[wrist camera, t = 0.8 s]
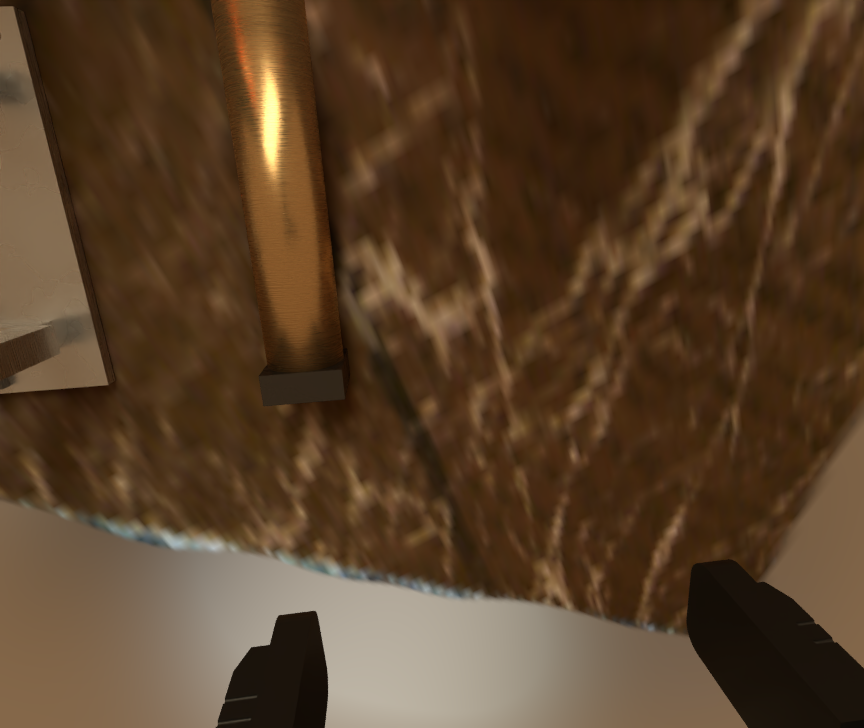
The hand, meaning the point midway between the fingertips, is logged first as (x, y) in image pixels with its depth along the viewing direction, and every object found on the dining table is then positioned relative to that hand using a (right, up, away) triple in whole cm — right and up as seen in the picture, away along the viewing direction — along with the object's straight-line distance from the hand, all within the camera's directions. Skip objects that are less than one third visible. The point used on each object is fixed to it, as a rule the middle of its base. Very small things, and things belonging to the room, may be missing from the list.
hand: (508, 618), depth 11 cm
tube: (-9, +14, +16) cm, 23 cm away
